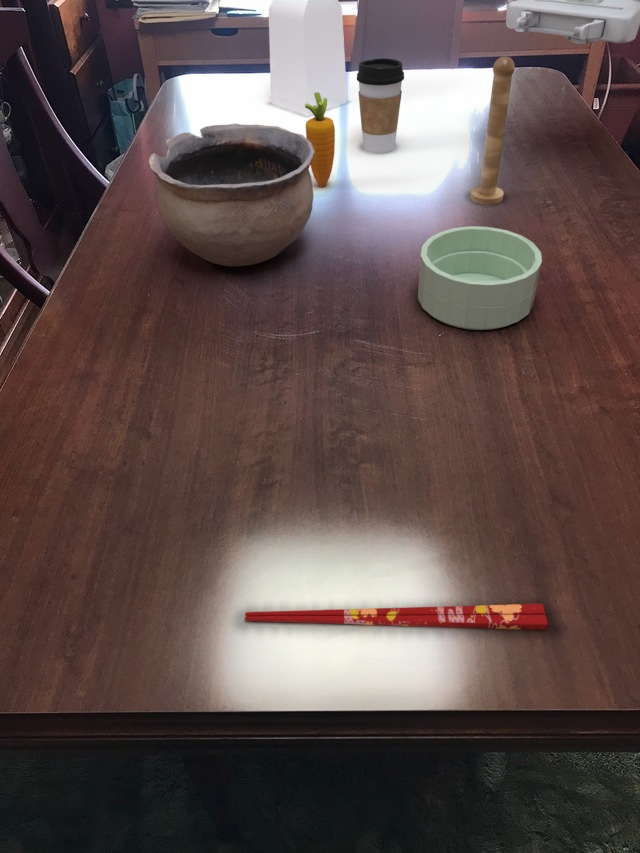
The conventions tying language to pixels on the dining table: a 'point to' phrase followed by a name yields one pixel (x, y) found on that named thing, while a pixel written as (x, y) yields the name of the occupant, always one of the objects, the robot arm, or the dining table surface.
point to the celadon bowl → (478, 277)
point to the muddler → (495, 134)
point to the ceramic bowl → (235, 191)
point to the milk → (306, 54)
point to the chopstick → (421, 616)
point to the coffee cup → (379, 102)
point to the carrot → (321, 141)
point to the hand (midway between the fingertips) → (548, 29)
